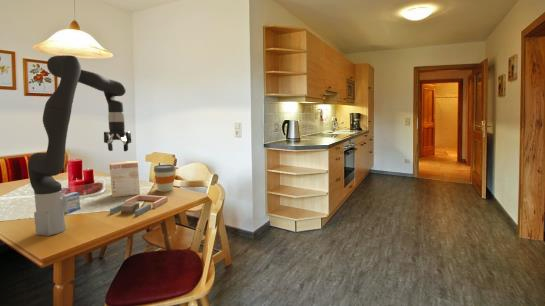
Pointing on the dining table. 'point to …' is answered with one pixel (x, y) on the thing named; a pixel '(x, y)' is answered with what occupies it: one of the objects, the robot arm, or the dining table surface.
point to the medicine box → (71, 202)
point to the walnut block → (129, 207)
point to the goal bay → (149, 199)
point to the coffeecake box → (124, 178)
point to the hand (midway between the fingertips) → (118, 151)
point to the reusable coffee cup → (164, 177)
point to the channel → (137, 212)
